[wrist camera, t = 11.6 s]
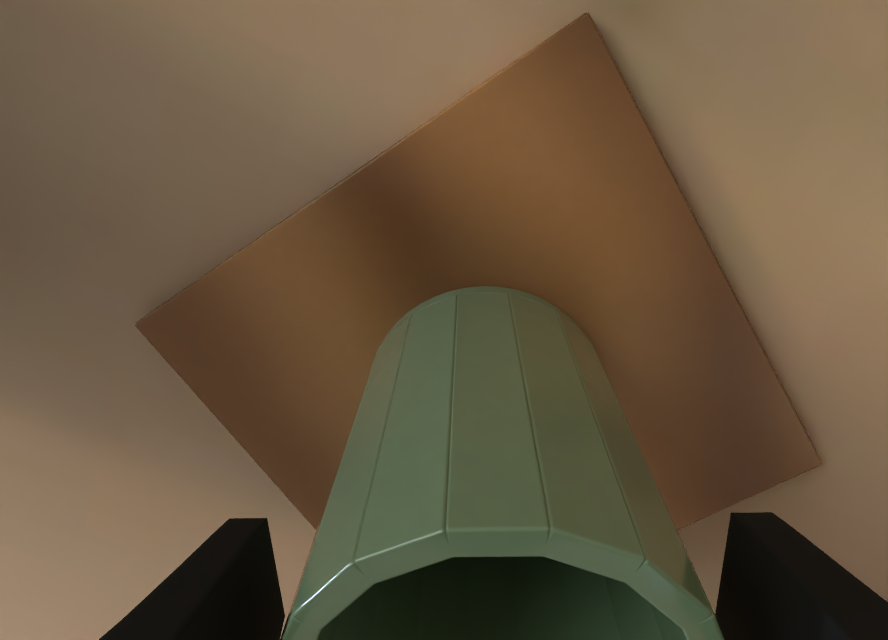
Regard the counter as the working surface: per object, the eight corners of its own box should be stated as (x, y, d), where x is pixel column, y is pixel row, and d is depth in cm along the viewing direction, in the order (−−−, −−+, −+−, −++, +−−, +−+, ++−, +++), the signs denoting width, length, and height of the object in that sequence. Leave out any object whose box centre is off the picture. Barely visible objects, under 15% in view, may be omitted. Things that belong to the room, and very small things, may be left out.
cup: (378, 493, 16) (301, 852, 9) (358, 288, 14) (234, 531, 7) (596, 491, 16) (709, 859, 8) (608, 281, 14) (772, 527, 6)
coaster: (420, 636, 19) (419, 648, 18) (141, 318, 15) (133, 324, 15) (814, 455, 16) (823, 464, 15) (584, 13, 12) (588, 11, 12)
